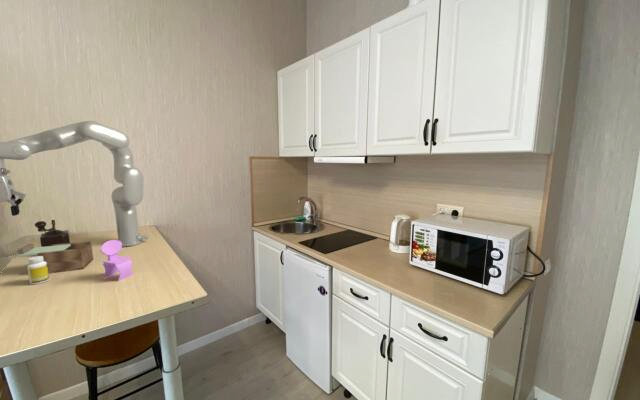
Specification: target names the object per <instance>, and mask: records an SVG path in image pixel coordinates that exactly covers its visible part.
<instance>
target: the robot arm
mask: <svg viewBox="0 0 640 400" xmlns="http://www.w3.org/2000/svg"><path fill="white" fill-rule="evenodd" d="M90 140H94V141H96V142H99V143H101V144H102V146H104V147H105V148H107V149H108V150H109V151H110V153H111V154H112V156H113V178H114V180H115V182H116V183H119V184H121V185H122V186H118V187H116V188H115V189H113V191H112V192H111V201H112V205H113V208H114V214H115V222H116V231H117V232H116V233H117V237H118V238H117V240H118V241H120V242H121V243H122V247H123V248H124V247H126V246H127V247H132V246H137V245H140V244H142V243H143V242H144V240H148V239H149V235H147V234H144V235H142V234H141V232H140V231H139V223H138V212H137V208H136V206H138V205H140V204H141V203H142V202H143V198H144V176H143V173H142V171H141V170H140V169H139V168H137V167H134V166H135V165H134V164H135V163H134V155H133V151H132V149H131V148H130V147H129V144H130V139H129V136H128V135H127V134H126V133H124V132H123V131H120V130H118V129H115V128H112V127H110V126H107V125H105V124H102V123H100V122H97V121H94V120H87V121H79V122H75V123H72V124H69V125H68V124H66V125H63V126H59V127H56V128H51V129H47V130H44V131H41V132H38V133H34V134H31V135H27V136H23V137H19V138H16V139H12V140H8V141H0V203H2V202H6V203H8V204H10V205H11V206H10V213H11V216H12V217H13V216H14V217H15V216H18V215H20V205H21V203H23V202H24V199H25V198H26V196H27V195H26V193H23V192H20V191H17V190H16V188H15V185H14V183H13V182H14V181H13V180H12V178H11V176H10V175H8V174H11V170H10V169H7V168H6V165H5V160H13V161H22V160H26V159H28V158H29V157H30V156H32V155H34V154H38V153H42V152H46V151H52V150H53V151H54V150H60V149H63V148H67V147H70V146H74V145H76V144H79V143H80V144H81V143H83V142H87V141H90ZM17 197H18V198H17ZM122 247H121V248H122Z"/></svg>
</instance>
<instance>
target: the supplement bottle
mask: <svg viewBox="0 0 640 400" xmlns="http://www.w3.org/2000/svg"><path fill="white" fill-rule="evenodd" d="M43 260H44V258H43V256H38V255H35V256H33V257H29V258H28V263H29V264H28V265H27V266H26V269H27V274H28V275H27V276H28V281H29V284H30V285H40V284H44V283H46V282H48V281H49V280H50V273H49V274H48V267H47V263H46V262H45V261H43Z"/></svg>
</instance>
